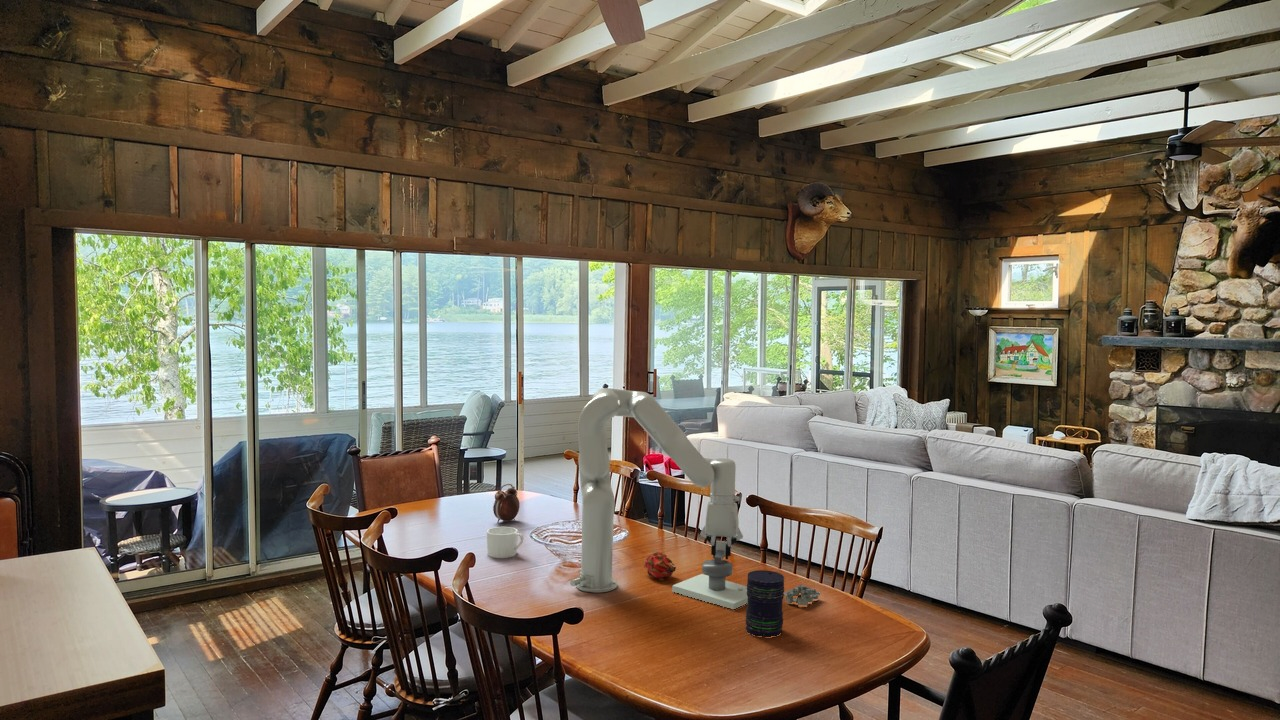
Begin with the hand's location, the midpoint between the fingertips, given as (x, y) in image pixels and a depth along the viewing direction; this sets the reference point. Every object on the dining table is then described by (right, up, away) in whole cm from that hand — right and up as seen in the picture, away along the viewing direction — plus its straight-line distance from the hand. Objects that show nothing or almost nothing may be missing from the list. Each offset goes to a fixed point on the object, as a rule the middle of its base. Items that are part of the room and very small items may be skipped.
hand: (720, 557), depth 251 cm
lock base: (-2, -9, -8) cm, 13 cm away
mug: (-71, -6, +26) cm, 76 cm away
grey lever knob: (-1, -2, -6) cm, 6 cm away
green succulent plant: (+23, -11, -12) cm, 28 cm away
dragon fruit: (-19, -8, +6) cm, 21 cm away
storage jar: (+8, -11, -35) cm, 38 cm away
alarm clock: (-78, -3, +68) cm, 103 cm away
